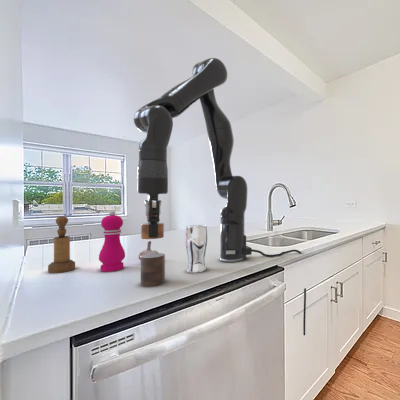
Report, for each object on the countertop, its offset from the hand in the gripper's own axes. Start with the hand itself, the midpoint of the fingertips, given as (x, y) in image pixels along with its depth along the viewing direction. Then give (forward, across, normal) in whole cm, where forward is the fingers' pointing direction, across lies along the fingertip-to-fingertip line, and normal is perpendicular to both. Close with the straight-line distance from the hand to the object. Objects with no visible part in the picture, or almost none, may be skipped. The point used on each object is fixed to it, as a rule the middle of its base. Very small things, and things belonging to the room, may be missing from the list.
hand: (152, 235), depth 72 cm
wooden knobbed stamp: (+14, +30, +25) cm, 41 cm away
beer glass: (+14, +7, -13) cm, 20 cm away
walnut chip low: (+14, 0, 0) cm, 14 cm away
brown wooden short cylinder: (0, 0, 0) cm, 0 cm away
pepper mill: (+14, +23, +11) cm, 29 cm away
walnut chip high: (+10, 0, 0) cm, 10 cm away
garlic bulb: (+14, +27, 0) cm, 30 cm away
